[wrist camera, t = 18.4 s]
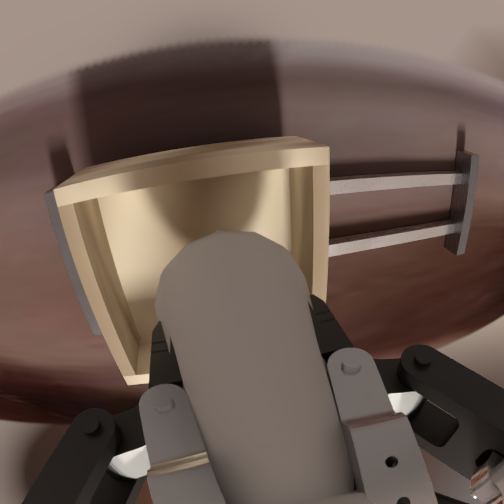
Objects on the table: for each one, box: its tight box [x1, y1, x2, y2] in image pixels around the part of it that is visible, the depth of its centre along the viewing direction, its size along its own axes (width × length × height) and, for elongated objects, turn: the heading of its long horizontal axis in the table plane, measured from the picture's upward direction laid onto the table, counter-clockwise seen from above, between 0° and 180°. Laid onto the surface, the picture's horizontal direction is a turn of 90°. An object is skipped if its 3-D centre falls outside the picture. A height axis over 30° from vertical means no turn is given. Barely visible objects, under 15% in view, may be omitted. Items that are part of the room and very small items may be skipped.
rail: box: [44, 150, 479, 335], centre depth 18 cm, size 28×9×2 cm, turn 94°
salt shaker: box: [155, 230, 399, 504], centre depth 8 cm, size 6×6×13 cm
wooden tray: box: [53, 136, 330, 385], centre depth 15 cm, size 10×10×5 cm
